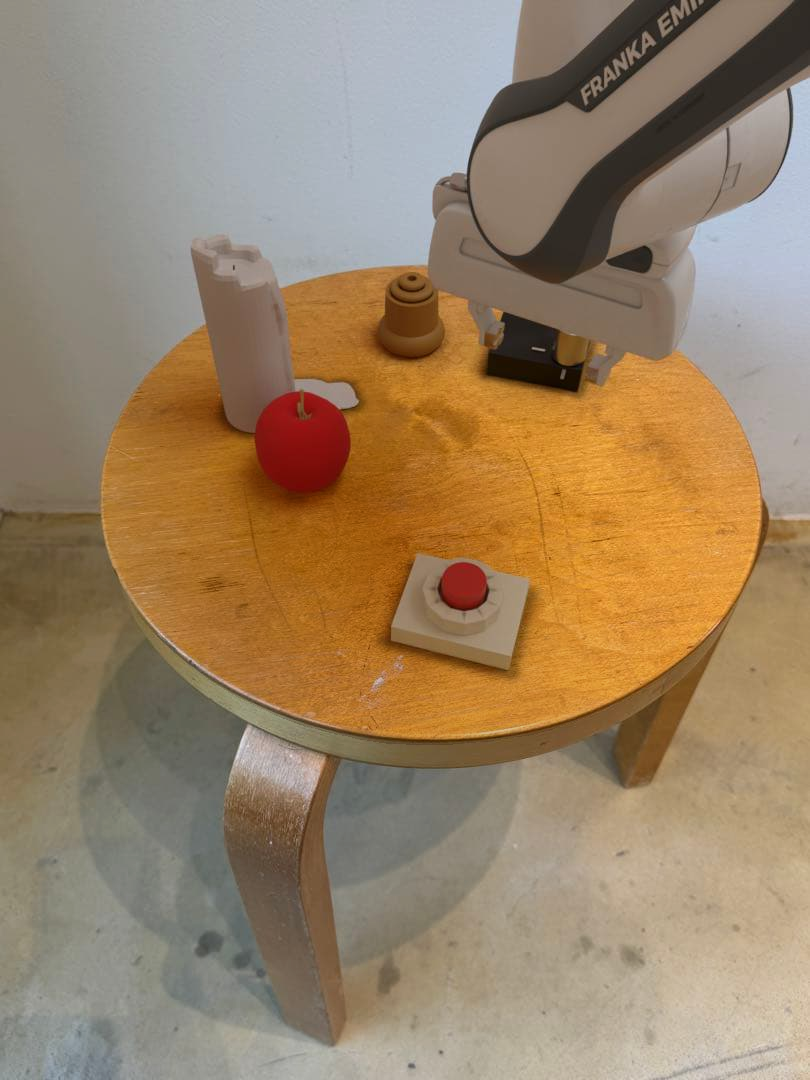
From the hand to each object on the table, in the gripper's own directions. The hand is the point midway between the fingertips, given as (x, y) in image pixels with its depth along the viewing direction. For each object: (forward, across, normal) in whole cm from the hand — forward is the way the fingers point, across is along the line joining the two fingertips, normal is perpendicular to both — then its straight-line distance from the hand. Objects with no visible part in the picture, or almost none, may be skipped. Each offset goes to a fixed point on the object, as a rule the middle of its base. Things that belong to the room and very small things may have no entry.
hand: (542, 361), depth 69 cm
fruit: (+15, -19, -9) cm, 26 cm away
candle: (+15, -26, -1) cm, 31 cm away
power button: (+12, +2, -16) cm, 20 cm away
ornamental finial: (+16, -21, +15) cm, 30 cm away
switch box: (+16, +2, -16) cm, 22 cm away
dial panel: (+16, -6, +18) cm, 25 cm away
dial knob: (+13, -3, +17) cm, 22 cm away
